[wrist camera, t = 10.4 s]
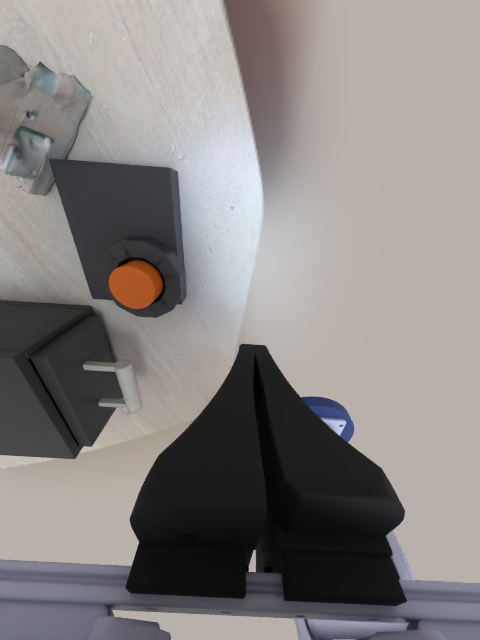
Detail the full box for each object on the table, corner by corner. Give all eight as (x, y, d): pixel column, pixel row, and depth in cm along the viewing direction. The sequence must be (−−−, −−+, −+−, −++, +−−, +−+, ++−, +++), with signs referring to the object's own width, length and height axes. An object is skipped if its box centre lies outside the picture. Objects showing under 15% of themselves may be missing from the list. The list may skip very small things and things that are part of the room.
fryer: (91, 306, 21) (12, 358, 14) (119, 392, 27) (75, 459, 20) (-55, 296, 20) (-213, 344, 13) (7, 385, 27) (-79, 450, 20)
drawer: (142, 319, 20) (104, 361, 15) (157, 397, 26) (134, 449, 20) (-39, 307, 20) (-147, 345, 15) (16, 388, 26) (-47, 439, 20)
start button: (165, 301, 17) (157, 310, 15) (126, 298, 17) (114, 307, 15) (160, 261, 15) (151, 268, 14) (117, 258, 15) (103, 264, 14)
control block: (192, 302, 20) (183, 319, 17) (105, 296, 20) (80, 312, 17) (185, 172, 15) (170, 163, 12) (68, 163, 15) (23, 152, 12)
